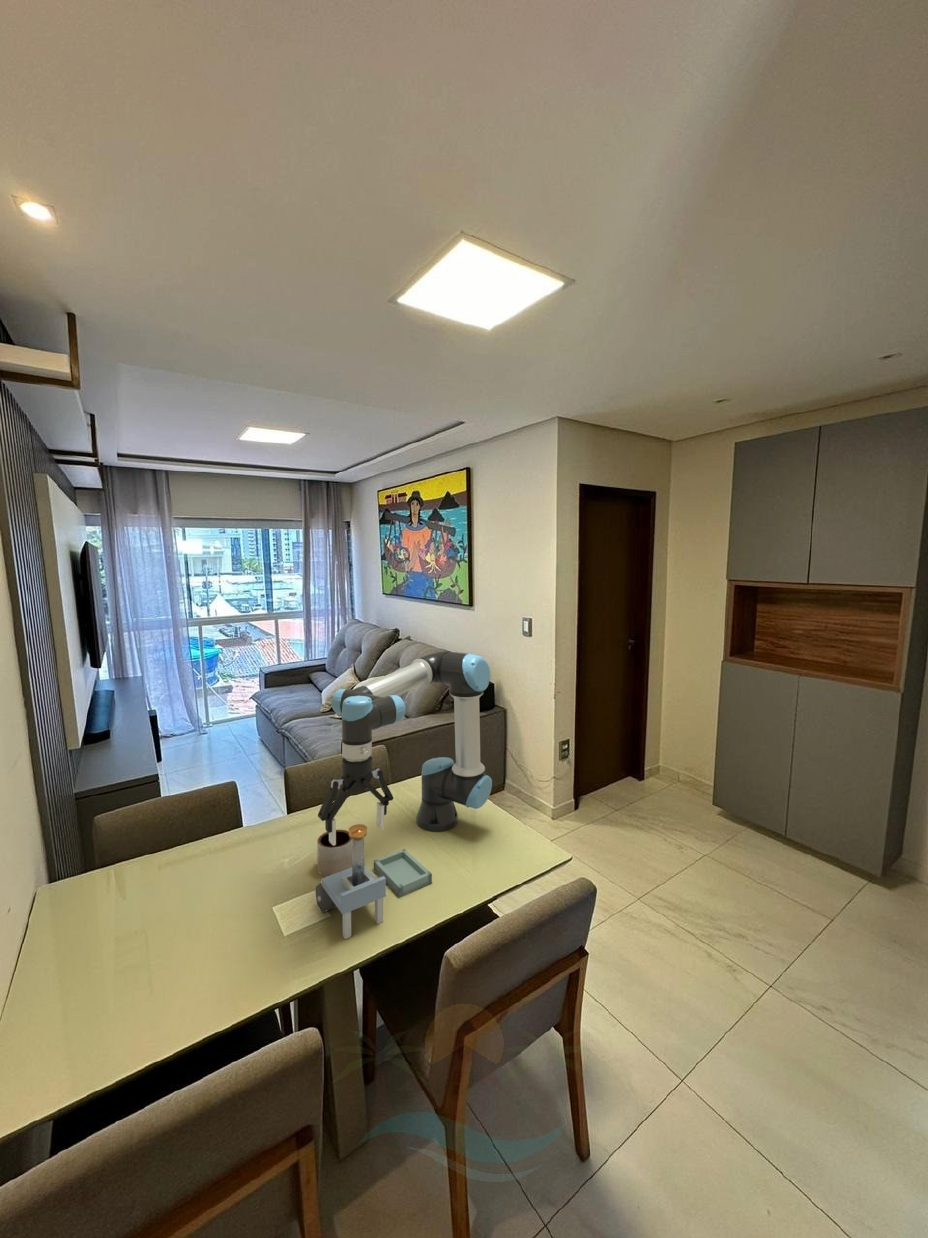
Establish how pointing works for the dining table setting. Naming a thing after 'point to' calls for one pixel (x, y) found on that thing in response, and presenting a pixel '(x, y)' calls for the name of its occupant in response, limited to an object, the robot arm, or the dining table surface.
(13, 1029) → the dining table surface
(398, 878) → the tray
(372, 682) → the robot arm
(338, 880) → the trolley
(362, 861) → the orange and grey cylinder
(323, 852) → the planter
